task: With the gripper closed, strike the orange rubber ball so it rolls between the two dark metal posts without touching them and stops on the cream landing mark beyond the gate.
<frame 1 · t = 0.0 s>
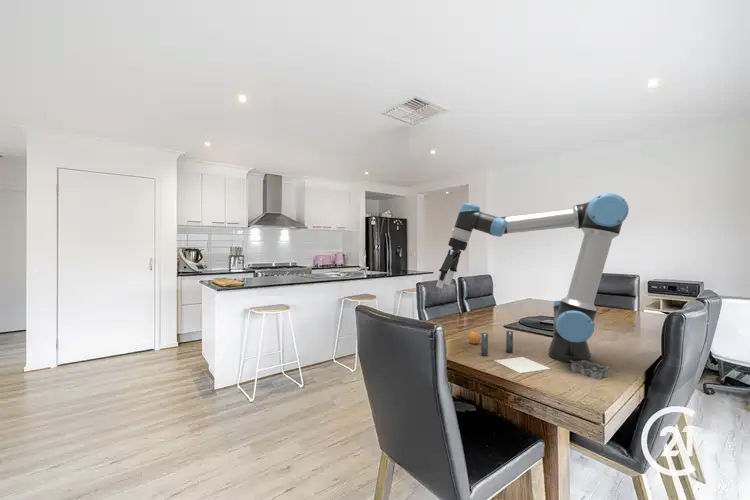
hand: (443, 286, 146), 28 cm above the table, tool tilted 20°, fingers open, 13 cm apart
post left: (484, 355, 140), on the table
post right: (509, 352, 144), on the table
egg carton: (588, 374, 121), on the table
landing mark: (521, 364, 129), on the table
ball: (474, 337, 157), on the table
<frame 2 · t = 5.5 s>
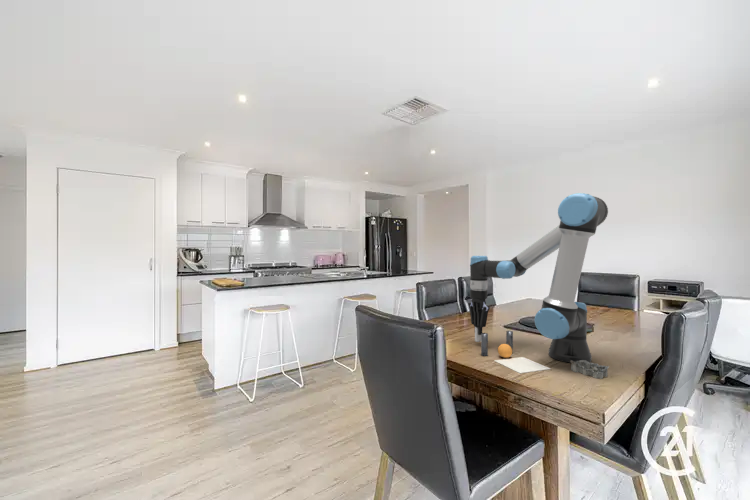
hand: (478, 341, 154), 2 cm above the table, tool pointing down, fingers closed
ball: (505, 350, 137), on the table
everything else where it was.
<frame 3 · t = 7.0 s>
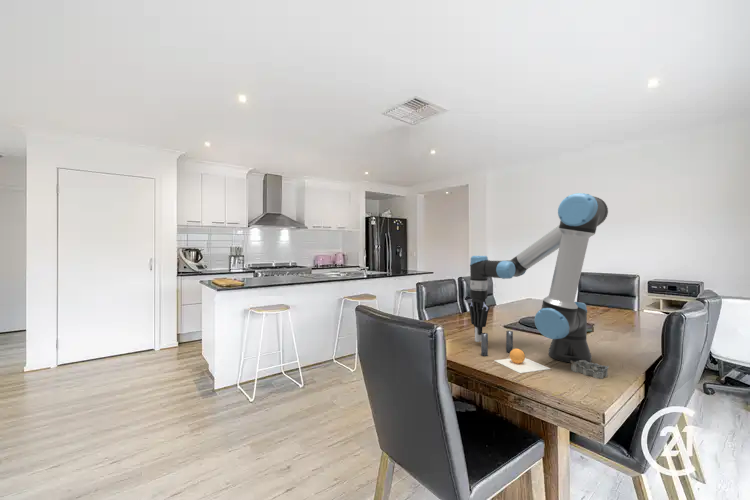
hand: (478, 341, 154), 2 cm above the table, tool pointing down, fingers closed
ball: (517, 356, 130), on the table
everything else where it was.
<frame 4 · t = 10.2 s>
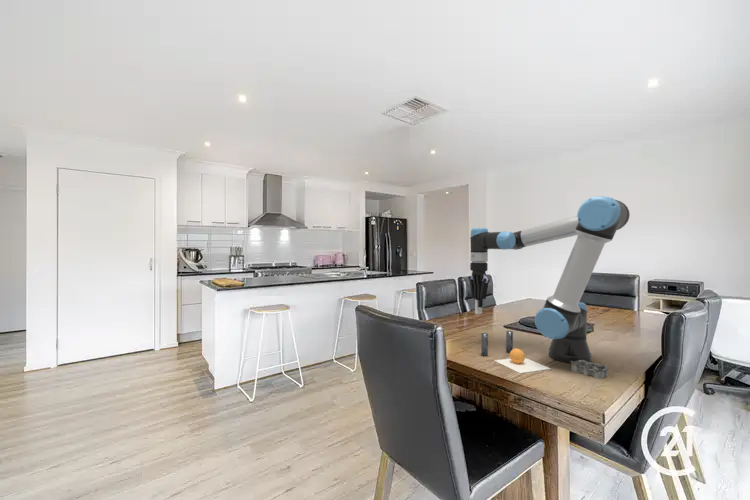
hand: (478, 313, 154), 14 cm above the table, tool pointing down, fingers closed
nothing on the table moved.
at the end: ball 2.1 cm from the landing mark (horizontally); ball never touched post left; ball never touched post right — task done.
